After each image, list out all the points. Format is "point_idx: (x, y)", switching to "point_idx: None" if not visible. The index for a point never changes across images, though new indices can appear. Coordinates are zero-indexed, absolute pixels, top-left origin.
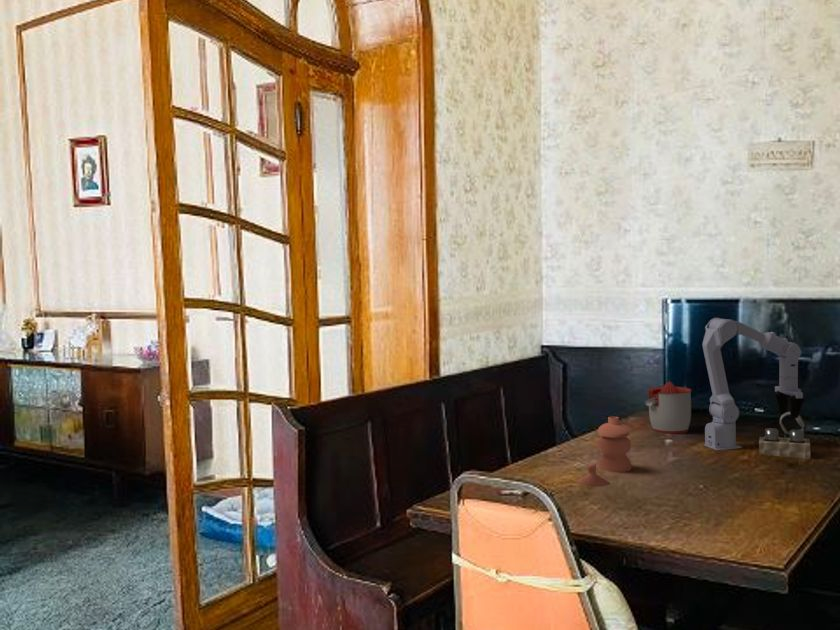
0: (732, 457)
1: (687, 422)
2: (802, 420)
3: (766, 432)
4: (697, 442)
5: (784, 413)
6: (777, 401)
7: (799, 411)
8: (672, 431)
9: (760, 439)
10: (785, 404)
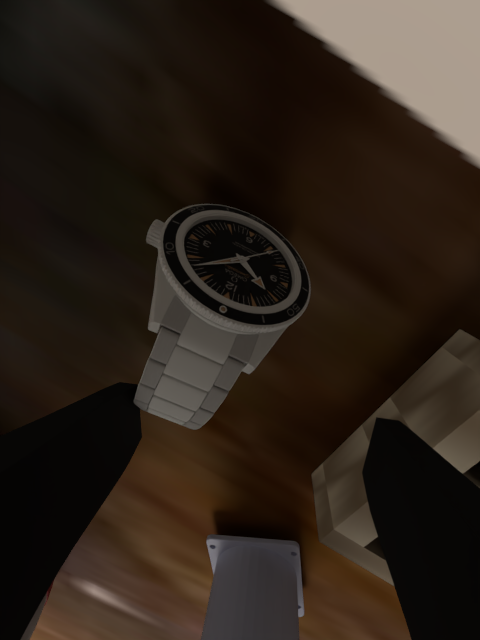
0: (361, 586)
1: None
2: (209, 217)
3: None
4: (132, 552)
5: (142, 407)
6: (15, 633)
7: (476, 489)
8: (48, 595)
9: (383, 575)
10: (48, 476)
